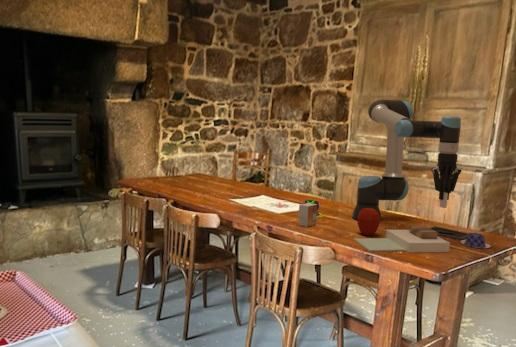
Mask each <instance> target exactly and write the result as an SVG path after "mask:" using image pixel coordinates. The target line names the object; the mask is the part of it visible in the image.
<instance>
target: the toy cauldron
mask: <svg viewBox="0 0 516 347" xmlns="http://www.w3.org/2000/svg"><path fill="white" fill-rule="evenodd" d="M314 198H316V196H314ZM304 199H306V196H305V197H304ZM318 200H319V198H316V199H314V200H313V199H311V198H309V199H306V200H303V201H301V204H306V203H312V204H317V215H316V219H319V217H321V218H323V217H322V215H320V214H319V213H320V212H318V211H319V209H320V205H321V204H322V202H321V201H318ZM319 215H320V216H319Z"/></svg>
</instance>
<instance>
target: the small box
mask: <svg viewBox="0 0 516 347" xmlns="http://www.w3.org/2000/svg"><path fill="white" fill-rule="evenodd" d="M298 207H299V208H298V213H299V215H298V221H297V222H298V223H297V225H298V226H301V227H306V228H308V227H312V226H316V225H317V218H316V215H317V212H318V211H317V204H312V203H306V204H304V203H301V204H299V206H298Z"/></svg>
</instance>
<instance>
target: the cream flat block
mask: <svg viewBox="0 0 516 347" xmlns="http://www.w3.org/2000/svg"><path fill="white" fill-rule="evenodd" d="M409 231H410V229H385V238H388V239H390V240H391V241H393V242H395V243H396V244H398V245H400V246H401V247H403V248H404V249H406V251H405V252H407V253H449V252H450V246H451V242H449V241H448V240H445V239H443V238H442V237H440V236H437V239H420V238H419V237H417V236H415V235H413V234H411V233H409Z"/></svg>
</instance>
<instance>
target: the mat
mask: <svg viewBox="0 0 516 347" xmlns="http://www.w3.org/2000/svg"><path fill="white" fill-rule="evenodd" d="M353 241H354V242H356V243H358V244H359V245H360V246H362V247H363V248H364V249H365V250H367V251H368V252H407V251H406V249H404V248H403V247H401V246H400V245H398V244H396V243H395V242H393V241H391V240H390V239H388V238H386V237H385V238H384V237H383V238H382V237H381V238H379V237H378V238H377V237H376V238H373V237H372V238H370V237H367V238H366V237H365V238H354V239H353Z"/></svg>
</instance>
